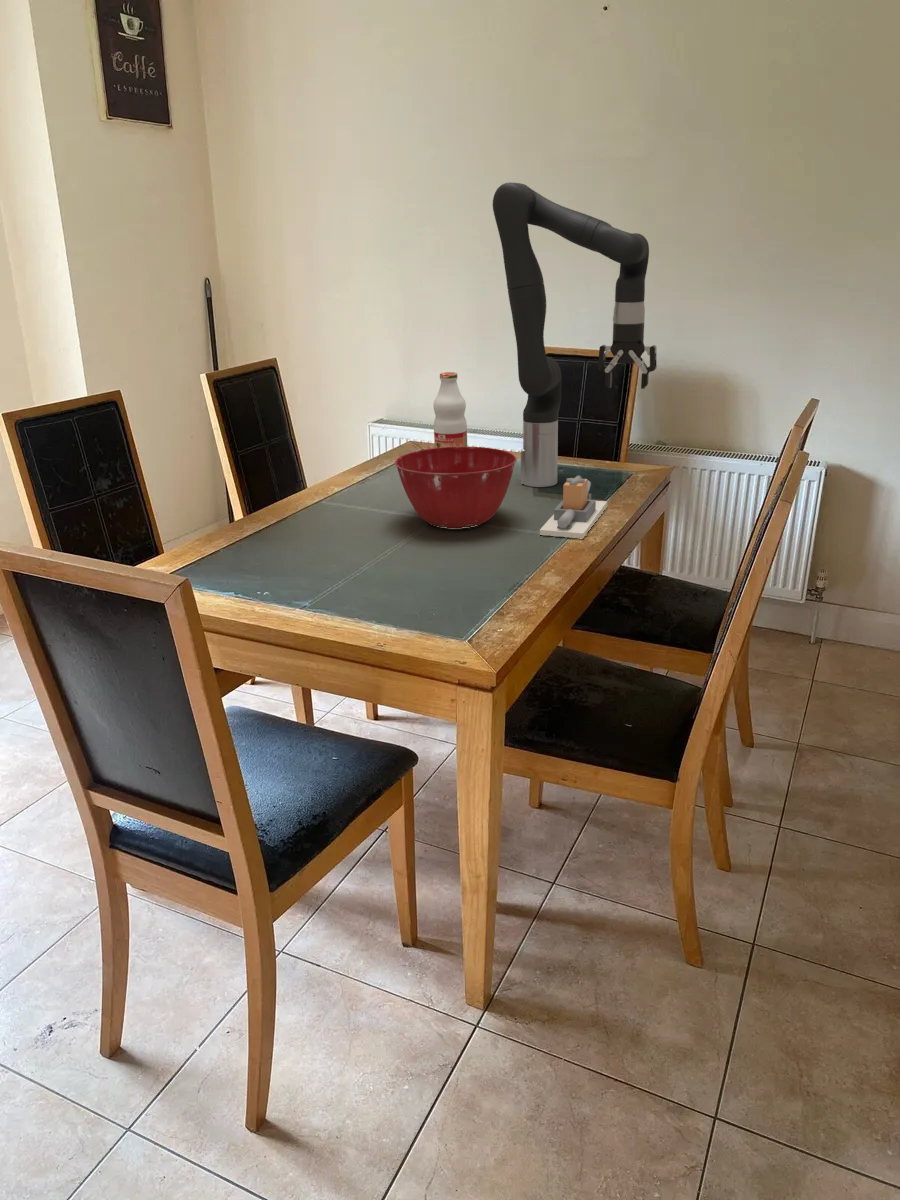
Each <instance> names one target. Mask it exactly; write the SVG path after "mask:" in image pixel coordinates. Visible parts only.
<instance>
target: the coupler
mask: <svg viewBox="0 0 900 1200" xmlns="http://www.w3.org/2000/svg"><path fill="white" fill-rule="evenodd" d="M587 484H588V479H587V478H583V477H582V476H581V475H576V476H575V477H569V478H568V477H567V478H566V482H564V484H563V485H562V487H563V488H562V489H563V492H562V496H563V497H562V498H563V499H562V500H563V509H572V510H584V509H585V507H586V506H587Z"/></svg>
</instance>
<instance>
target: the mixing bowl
mask: <svg viewBox="0 0 900 1200" xmlns="http://www.w3.org/2000/svg"><path fill="white" fill-rule="evenodd" d="M517 461H518V458H517V456H516V455H515V454H514V453H512V452H509V451H507V450H503V449H500V448H499V449H498V448H492V447H485V446H467V447H466V446H465V447H441V448H434V447H431V449H427V448H426V449H420V450H415V451H411V452H408V453H405V454H403V455H400V456H399V457H397V458H396V459H395V461H394V465H395V467H396V468H397V471H398V472H397V473H398V475H399V479H400V481H401V484H402V486H403V490H404V491H405V492H404V493H405V494H406V496H407V498H408V500H409V502H410V504H411V506H412V507H413V509H414V511H415V513H416V514H417V515H418V516H419V518H421V520H423V521H424V522H426V523H428V524H429V525H431V524H432V525H435V526H439V527H447V528H462V527H471V526H475V525H479V524H482V523H484V522H485V523H486V522H488V521H489V520H490V519H491V518H493V516H494V515H495V514H496V513H498V510H499V508H500V507H501V504H502V502H503V500H504V499H505V496H506V494H507V490H508V489H509V486H510V483H511V479H512V476H513V472H514V470H515V469H514V467H515V464H516V462H517ZM485 523H484V524H485ZM432 525H431V526H432ZM482 525H483V524H482Z"/></svg>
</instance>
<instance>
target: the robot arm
mask: <svg viewBox="0 0 900 1200" xmlns="http://www.w3.org/2000/svg"><path fill="white" fill-rule="evenodd" d="M492 211H493V216H494V218H495V220H494V221H495V224H496V227H497V230H498V236H499V239H500V243H501V249H502V256H503V257H502V258H503V264H504V265H503V266H504V270H505V271H504V272H505V278H506V287H507V293H508V294H507V295H508V300H509V306H510V312H511V317H512V324H513V325H512V326H513V329H514V336H515V343H516V350H517V351H516V353H517V355H516V356H517V370H518V371H517V375H518V381H519V385H520V387H521V390H523V392H524V393H525V394H527V401H526V404H525V407H524V409H523V411H522V434H523V435H522V438H523V439H522V447H523V448H521V450H520V485H522V484H524V486H527V487H532V488H533V487H534V488H547V487H552V486H555V485H557V484H558V460H559V459H558V455H559V454H558V453H559V452H558V451H559V450H558V447H559V445H558V443H559V441H558V440H559V439H558V437H559V436H558V434H559V433H558V432H559V411H560V409H561V401H562V383H563V382H562V371H561V367H560V365H559V363H558V362H557V361H556V360H555V359H554V358H552V357H549V356H547V353H546V348H545V341H544V340H545V339H544V331H545V324H546V322H545V321H546V315H547V295H546V287H545V282H544V280H545V279H544V277H543V274H542V273H543V272H542V269H541V267H540V264H539V261H538V260H537V259H538V258H537V256H536V254H535V252H534V249H533V246H532V243H531V240H530V239H531V238H530V233H529V225H530V226H534V227H536V226H537V227H539V228H544V229H545V230H548V231H551V232H552V233H554V234H556V235H559V236H560V237H562V238H563V239H565V240H567V241H568V242H571V243H573V244H575V245H578V246H580V247H582V248H585V249H587V250H590V251H592V252H595V253H599V254H601V255H603V256H604V257H606V258H608V259H609V260H611V261H613V262H616V263H619V275H618V278H617V280H616V283H615V289H614V292H615V293H614V307H613V315H612V322H613V324H612V343H611V345H606V344H602V345H601V346H599V351H598V360H597V361H598V362H597V370H598V371H602V372H604V385H605V386H606V387H607V389H611V388H612V386H613V371H612V370H613V369H614V368H615V367H616V365H617V364H618V363H619V364H620V365H623V364H629V365H633V364H635V365H636V366H637V367H638V368H639V369H640V371H641V372H642V373H641V378H640V379H641V381H640V382H641V383H640V386H641V387H640V389H641V390H645V389H646V387H648V385H649V377H650V376H649V374H650V373H651V372H654V371H655V370H657V345H655V344H653V345H651V346H647V345H646V346H645V344H644V339H645V319H646V317H645V316H646V315H645V314H646V312H645V311H646V308H645V295H646V294H645V292H646V290H645V289H646V285H645V284H646V275H647V270H648V264H649V257H650V256H649V254H650V245H649V242H648V240H647V238H646V237H645V235H643V234H641V233H637V232H636V233H635V232H634V233H630V232H627V231H625V230H621V229H619V228H615V227H614V226H612V224H610V223H608V222H607V221H604V220H602V219H600V218H597V217H594V216H592V215H589V214H586V213H583V212H580V211H577V210H574V209H571V208H568V207H566V206H563V205H561V204H559V203H556V202H554V201H552V200H550V199H548V198H547V197H544V196H543V195H541V194H540V193H539V192H537V191H535V190H534V189H532V188H531V187H529V186H528V185H526V184H524V183H520V182H504V183H502V184H501V185H500V186H498V187H497V188H496V191H495V192H494V195H493V198H492ZM609 352H611V354H612V355H613V358H612V359H611V361H610V362H609V364H608V365H606V358H607V357H606V355H608V354H609ZM644 352H646V354H647V355H648V356H649V366H648V365H647V364H646V362H645V360H644V358H643V357H642V355H643V354H644Z"/></svg>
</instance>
